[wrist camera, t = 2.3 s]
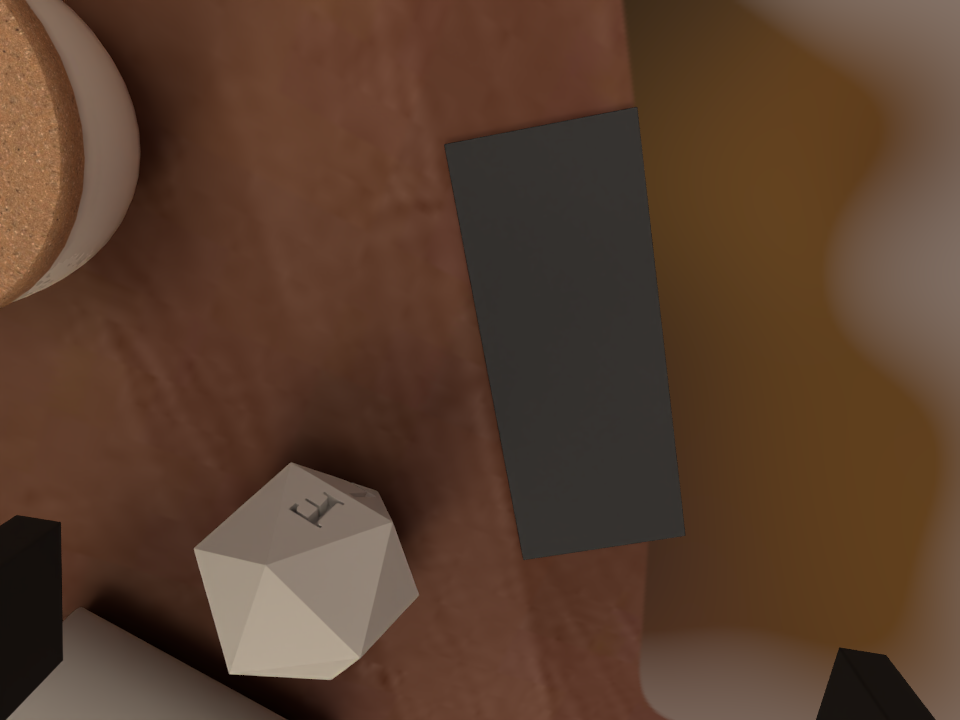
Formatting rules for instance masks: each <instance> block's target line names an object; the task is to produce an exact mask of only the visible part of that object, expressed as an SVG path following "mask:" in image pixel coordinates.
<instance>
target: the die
mask: <svg viewBox="0 0 960 720" xmlns="http://www.w3.org/2000/svg"><path fill="white" fill-rule="evenodd" d="M194 552H195V555H196V559H197V562H198V566H199V569H200V573H201V576H202V580H203V584H204V587H205V591H206V594H207V598H208V601H209V605H210V608H211V612H212V615H213V619H214V622H215V626H216V629H217V633H218V636H219V640H220V644H221V647H222V651H223V654H224V658H225V661H226V665H227V668H228V672H229V674H236V675H253V676H270V677H288V678H305V679H323V680H332V679H333V678H334V677H336V676H337V675H338V674H340V673H341V672H343V671H344V670H345V669H347V668H348V667H349V666H351V665H352V664H353V663H355V662H356V661H357V660H359V659H360V658H361V657H362V656H363V655H364V654H365V653H366V652H367V651H368V650H369V648H370V647H371V646H372V645H373V644H374V643H375V642H376V641H377V640H378V639H379V638H380V637H381V636H382V635H383V633H384V632H385V631H386V630H387V629H388V628H389V627H390V626H391V625H392V624H393V623H394V622H395V621H396V620H397V618H398V617H399V616H400V615H401V614H402V613H403V612H404V611H405V610H406V609H407V608H408V607H409V606H410V605H411V603H412V602H413V601H414V600H415V599H416V598H417V597H418V596H419V593H418V590H417V588H416V585H415V582H414V579H413V577H412V574H411V571H410V568H409V566H408V563H407V560H406V557H405V555H404V552H403V549H402V546H401V544H400V541H399V538H398V535H397V532H396V530H395V527H394V524H393V522H392V519H391V517H390V515H389V513H388V511H387V509H386V507H385V505H384V503H383V501H382V499H381V497H380V495H379V493H378V491H376V490H373V489H370V488H367V487H364V486H361V485H358V484H355V483H350V482H348V481H346V480H343V479H340V478H337V477H334V476H331V475H328V474H325V473H322V472H319V471H316V470H313V469H310V468H307V467H304V466H301V465H298V464H295V463H292V462H291V463H289V464H288V465H287V466H286V467H285V468H284V469H283V470H282V471H280V472H279V473H278V474H277V475H276V476H275V477H274V478H273V479H271V480H270V481H269V482H268V483H267V484H266V485H265V486H263V487H262V488H261V489H260V490H259V491H258V492H257V493H256V494H254V495H253V496H252V497H251V498H250V499H249V500H248V501H247V502H245V503H244V504H243V505H242V506H241V507H240V508H239V509H238V510H236V511H235V512H234V513H233V514H232V515H231V516H230V517H228V518H227V519H226V520H225V521H224V522H223V523H222V524H221V525H219V526H218V527H217V528H216V529H215V530H214V531H213V532H212V533H210V534H209V535H208V536H207V537H206V538H205V539H204V540H203V541H201V542H200V543H199V544H198V545H197V546H196V547H195V548H194Z"/></svg>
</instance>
